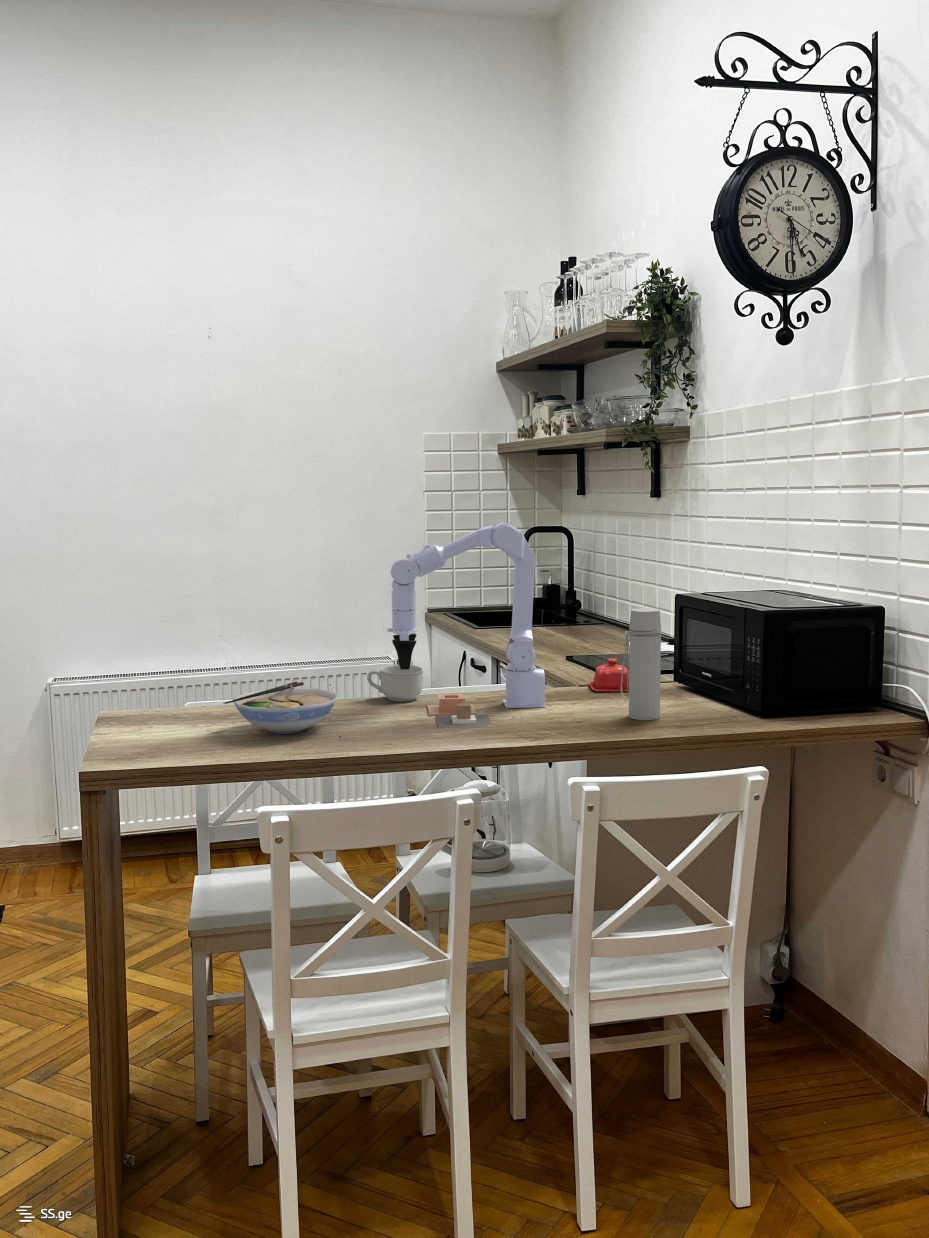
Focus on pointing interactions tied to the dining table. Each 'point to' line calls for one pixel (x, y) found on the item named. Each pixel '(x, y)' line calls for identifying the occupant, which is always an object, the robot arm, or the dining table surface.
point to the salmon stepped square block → (448, 705)
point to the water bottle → (643, 664)
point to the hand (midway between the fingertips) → (405, 666)
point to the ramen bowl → (285, 707)
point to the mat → (447, 723)
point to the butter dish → (609, 678)
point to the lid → (463, 714)
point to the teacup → (399, 682)
